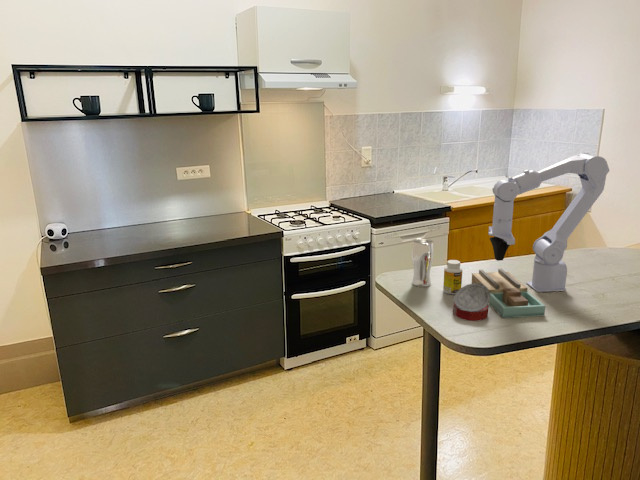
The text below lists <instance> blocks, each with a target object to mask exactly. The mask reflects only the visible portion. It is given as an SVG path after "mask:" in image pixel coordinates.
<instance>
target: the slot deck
mask: <svg viewBox="0 0 640 480" xmlns="http://www.w3.org/2000/svg"><path fill="white" fill-rule="evenodd" d="M472 283H481V284H483V285H484V286H486V287H487V288H488V290H489V292H490V293H501V292H503V289H508V288H517V289H518V290H519V291H528V287H527V286H526V285H525V284H524V283H522V282H521V281H520V280H518V279H517V278H516V277H515V276H514V275H513V274H511V273H510V272H509V271H505V270H504V269H502V268H498V269H497V271H495V272H492V271H491V272H485V270H483V269H478V272H477V273H476V272H475V273H471V284H472Z"/></svg>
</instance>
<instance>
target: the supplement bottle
mask: <svg viewBox="0 0 640 480" xmlns="http://www.w3.org/2000/svg"><path fill="white" fill-rule="evenodd" d="M446 263H447V264H446V266H445V267H444V269H443V271H444V273H443V286H442V287H443V290H442V291H443V292H444V293H445V294H447V295H455V294H456V292H458V291H459V290H460V288H462V284H463V283H462V281H463V268H462V267H461V261H460V260H457V259H449V260H447V262H446Z"/></svg>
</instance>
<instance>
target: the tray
mask: <svg viewBox="0 0 640 480" xmlns="http://www.w3.org/2000/svg"><path fill="white" fill-rule="evenodd" d="M521 295H522V296H523V297H524V298H526V299H527V300H528V306H512V307H509V306H508V305H506V304H505V303H504V302H503V301H502V299H503V292H501V293H490V301H489V304H488V305H489V306H491V307H492V308H493V309H494V310H495V311H496V312H497V313H498V314H499V316H501V318H503V319H504V318H505V319H507V318H524V317H525V318H527V317H544V316H546V315H545V313H546V305H545V304H544V303H543V302H541V300H539V299H538V298H537V297H535V296H534V295H533V294H532V293H531V292H530V291H528V290H527V291H521Z"/></svg>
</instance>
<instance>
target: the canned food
mask: <svg viewBox="0 0 640 480" xmlns="http://www.w3.org/2000/svg"><path fill="white" fill-rule="evenodd" d="M453 296H454V297H453V302H452V304H453V305H452V314H453V315H454V316H455V317H457V318H458V319H460V320H464V321H468V322H469V321H471V322H479V321H484V320H486V319H487V318H488V316H489V307H490V304H489V301H490V292H489V290H488V288H487V287H486V286H484V285H483V284H481V283H472V282H471V283H469V284H466V285H464V286H461V288H460V290H459V291H458V292H456V294H454V295H453Z"/></svg>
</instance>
